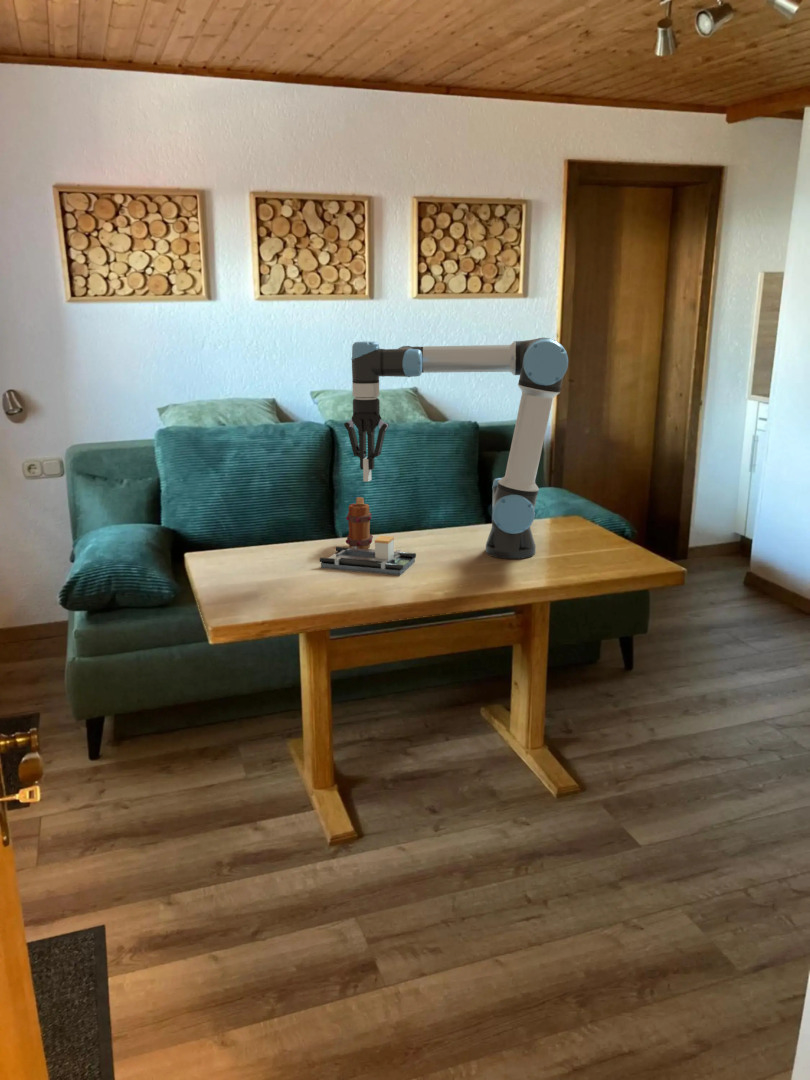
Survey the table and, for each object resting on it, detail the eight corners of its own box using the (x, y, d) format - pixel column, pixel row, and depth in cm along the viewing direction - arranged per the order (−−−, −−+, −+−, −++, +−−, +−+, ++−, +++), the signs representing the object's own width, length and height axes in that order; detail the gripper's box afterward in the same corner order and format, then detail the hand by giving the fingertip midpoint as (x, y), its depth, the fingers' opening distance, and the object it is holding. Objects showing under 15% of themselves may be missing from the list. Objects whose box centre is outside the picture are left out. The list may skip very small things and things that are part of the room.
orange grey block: (394, 558, 249) (394, 536, 248) (388, 563, 245) (388, 541, 243) (380, 557, 251) (380, 535, 249) (375, 562, 246) (374, 540, 244)
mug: (371, 553, 261) (371, 505, 257) (345, 553, 261) (343, 505, 257) (374, 540, 275) (373, 495, 271) (349, 540, 275) (348, 495, 271)
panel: (416, 561, 252) (416, 551, 252) (401, 575, 239) (401, 565, 239) (337, 554, 260) (337, 545, 259) (319, 568, 247) (318, 557, 246)
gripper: (392, 397, 241) (393, 479, 248) (349, 396, 245) (351, 477, 252) (383, 400, 235) (384, 484, 241) (339, 398, 238) (341, 481, 245)
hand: (367, 480), depth 246 cm, fingers closed
